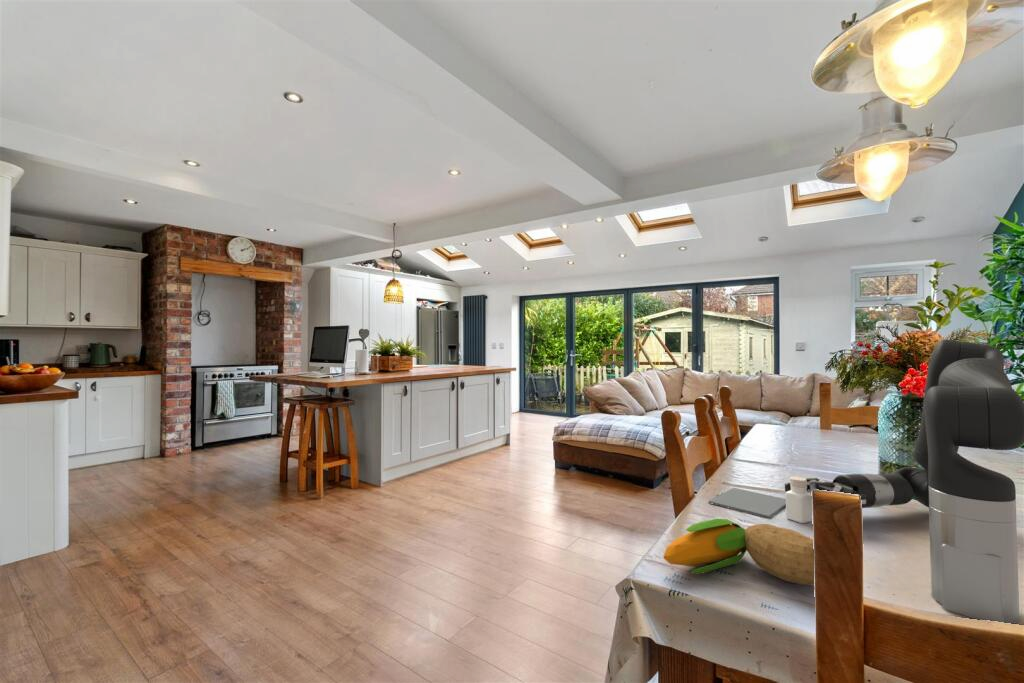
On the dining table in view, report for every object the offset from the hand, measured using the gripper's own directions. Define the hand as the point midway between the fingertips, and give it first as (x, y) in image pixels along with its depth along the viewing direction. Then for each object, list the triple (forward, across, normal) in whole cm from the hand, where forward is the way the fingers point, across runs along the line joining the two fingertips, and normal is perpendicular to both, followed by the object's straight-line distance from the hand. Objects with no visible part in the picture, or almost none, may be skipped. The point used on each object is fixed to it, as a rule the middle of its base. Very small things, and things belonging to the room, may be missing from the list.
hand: (799, 493), depth 101 cm
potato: (+22, +23, +6) cm, 32 cm away
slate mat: (+4, -12, +6) cm, 14 cm away
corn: (+33, +17, +6) cm, 38 cm away
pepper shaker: (0, 0, +6) cm, 6 cm away
